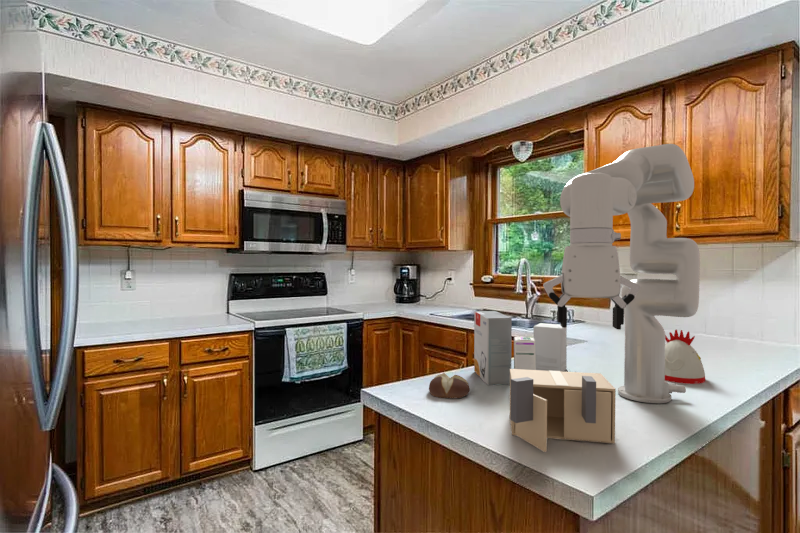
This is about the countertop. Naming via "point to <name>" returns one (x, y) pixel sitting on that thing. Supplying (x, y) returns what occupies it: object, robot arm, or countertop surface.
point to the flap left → (528, 413)
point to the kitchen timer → (682, 360)
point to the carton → (561, 396)
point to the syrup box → (524, 353)
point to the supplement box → (550, 347)
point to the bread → (449, 386)
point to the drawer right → (587, 412)
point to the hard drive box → (492, 346)
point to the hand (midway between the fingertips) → (589, 327)
